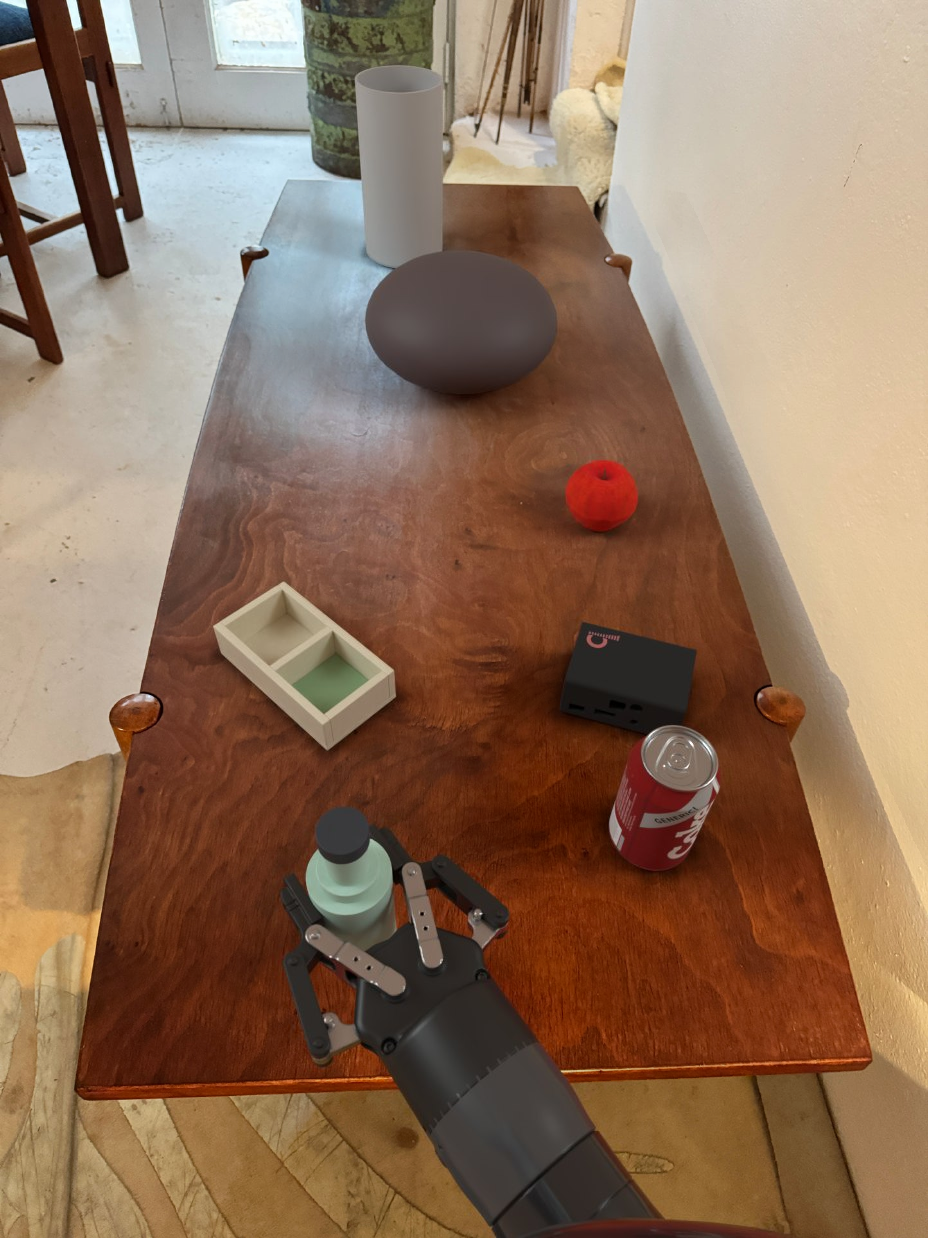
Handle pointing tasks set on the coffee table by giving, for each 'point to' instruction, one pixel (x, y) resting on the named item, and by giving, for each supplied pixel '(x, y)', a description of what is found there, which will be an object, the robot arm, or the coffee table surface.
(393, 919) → the bottle
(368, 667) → the cream rectangular tray
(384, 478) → the coffee table surface
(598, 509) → the apple
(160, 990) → the coffee table surface
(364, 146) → the cylinder vase
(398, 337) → the flattened ellipsoid
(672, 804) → the soda can
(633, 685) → the electronic device
